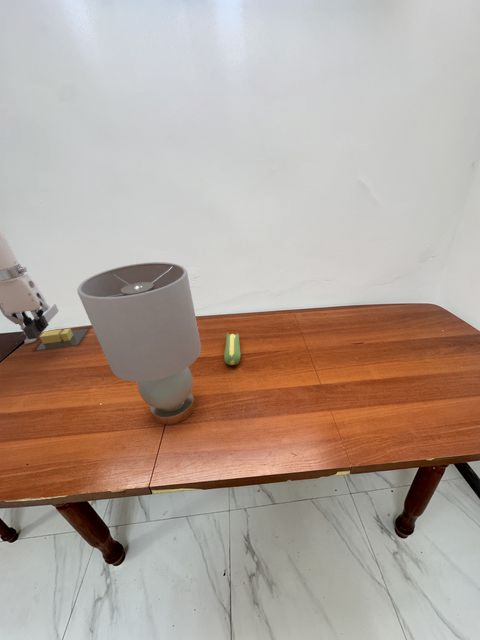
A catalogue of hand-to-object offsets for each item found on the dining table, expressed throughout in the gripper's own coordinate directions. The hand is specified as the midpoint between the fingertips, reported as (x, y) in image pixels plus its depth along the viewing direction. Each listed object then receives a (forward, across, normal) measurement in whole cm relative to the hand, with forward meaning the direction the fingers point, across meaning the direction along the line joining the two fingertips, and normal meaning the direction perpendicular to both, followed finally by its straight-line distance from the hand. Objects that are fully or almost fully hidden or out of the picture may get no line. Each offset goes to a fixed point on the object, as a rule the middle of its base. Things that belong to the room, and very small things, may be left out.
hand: (37, 329), depth 93 cm
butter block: (+10, +4, -12) cm, 16 cm away
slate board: (+12, +1, -12) cm, 17 cm away
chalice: (+12, +13, -14) cm, 22 cm away
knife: (+1, 0, -6) cm, 6 cm away
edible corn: (+12, -60, +11) cm, 62 cm away
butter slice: (+10, -1, -12) cm, 16 cm away
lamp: (+12, -42, +34) cm, 56 cm away
